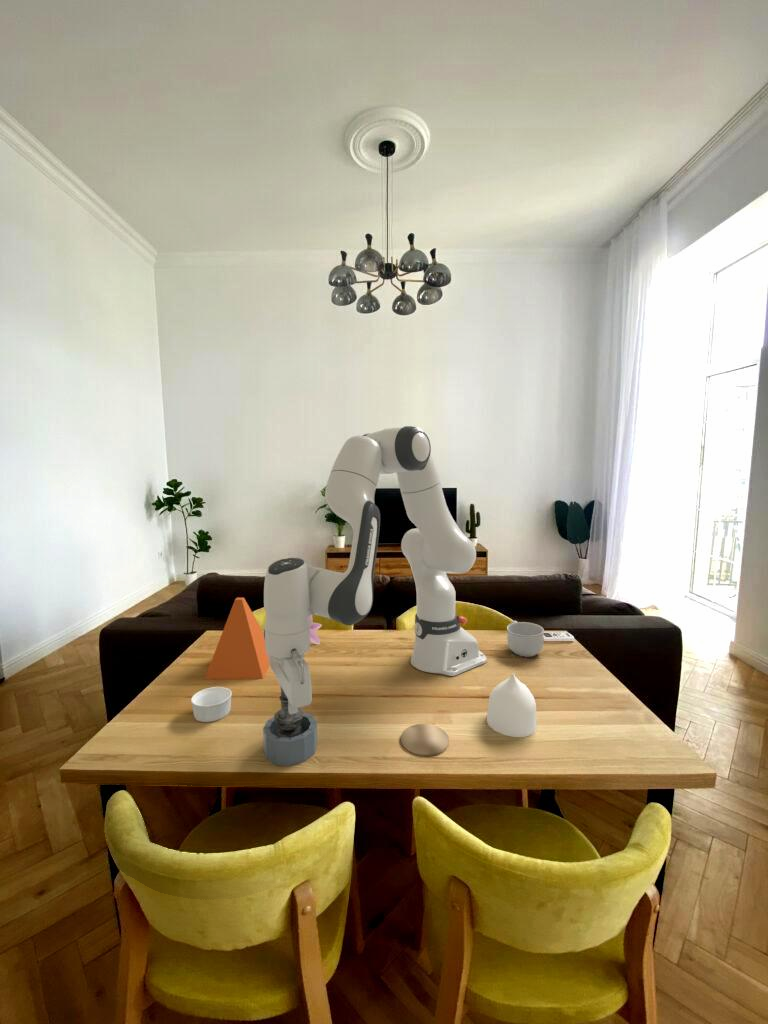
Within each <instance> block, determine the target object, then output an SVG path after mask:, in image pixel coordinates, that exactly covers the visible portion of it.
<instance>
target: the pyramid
mask: <svg viewBox="0 0 768 1024" xmlns="http://www.w3.org/2000/svg"><path fill="white" fill-rule="evenodd" d="M269 667H270V664H269V659H268V654H267V653H266V651H265V639H264V630H263V629H262V628H261V625H260V624H259V622H258V620H257V618H256V617H255V615H254V613H253V612H252V609H251V608H250V606H249V604H248V602H247V601H246V599H245V597H236V598H235V599H234V602H233V604H232V607H231V609H230V612H229V614H228V617H227V620H226V622H225V624H224V627H223V630H222V633H221V636H220V637H219V640H218V643H217V645H216V648H215V651H214V654H213V657H212V659H211V661H210V664H209V666H208V670H207V671H206V675H205V677H204V680H239V679H240V680H244V679H245V680H247V679H250V680H251V679H252V680H253V679H256V680H257V679H260V680H261V679H264V677H265V675H266V673H267V671H268V669H269Z"/></svg>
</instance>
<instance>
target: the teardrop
mask: <svg viewBox="0 0 768 1024" xmlns="http://www.w3.org/2000/svg"><path fill="white" fill-rule="evenodd" d="M487 705H488V706H487V715H486V716H487V717H486V722H487V724H488V726H489V727H490V728H491V729H492V730H493V731H495V732H498V733H499V734H501V735H504V736H508V737H513V738H525V737H528V736H532V735H533V734H534V733H535V732H536V731H537V730H538V728H537V727H538V725H537V722H538V721H537V720H538V719H537V704H536V699H535V697H534V695H533V693H532V692H531V691H530V689H529V687H527V685H526V684H524V683H523V682H521V681H520V680H519V679H518V678H517V677H516V676H515V673H514V672H512V673H511V675H510V677H508V678H507V679H504V680H503V681H502V682H500V683H498V684H497V685H496V686H495V687H494V688H493V690H492V691H491V692H490V694H489V697H488V704H487Z"/></svg>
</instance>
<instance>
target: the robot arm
mask: <svg viewBox="0 0 768 1024" xmlns="http://www.w3.org/2000/svg"><path fill="white" fill-rule="evenodd" d="M431 446H432V445H431V440H430V438H429V437H428V435H427V434H426V432H425V431H424V430H423V429H422V428H420V427H417V426H411V425H405V426H403V427H390V428H384V429H382V430H379V431H375V432H370V433H364V434H363V435H354V436H351V437H349V438H348V439H347V440H346V441H345V442H344V444H343V445H342V446H341V449H340V450H339V453H338V454H337V457H336V459H335V460H334V463H333V466H332V468H331V470H330V473H329V477H328V479H327V482H326V486H325V491H324V492H325V493H324V497H325V501H326V504H327V506H328V507H329V509H330V510H331V512H333V514H335V515H336V516H337V517H339V518H340V519H342V520H343V521H345V522H347V523H348V524H349V525H350V526H351V528H352V532H353V533H352V535H353V537H352V543H351V549H350V554H349V561H348V566H347V569H346V571H344V572H340V571H335V570H330V569H327V568H326V569H325V568H323V567H322V568H321V567H316V566H313V565H310V564H309V563H307V562H306V561H305V560H304V559H302V558H299V557H288V558H281V559H278V560H276V561H274V562H273V563H271V564H270V565H269V566H268V567H267V570H266V573H265V577H264V582H263V583H264V584H263V607H264V611H265V613H266V614H265V615H266V619H265V623H264V628H263V633H264V639H265V651H266V653H267V654H268V659H269V664H270V665H269V667H270V669H271V670H272V672H273V674H274V675H275V678H276V680H277V681H278V683H279V689H280V690H281V687H282V689H283V691H284V693H285V695H286V697H287V698H288V703H287V710H288V712H289V714H295V713H297V712H298V708H299V709H301V708H304V707H308V706H310V705H311V704H312V701H313V698H312V697H313V696H312V695H313V692H312V681H311V680H312V678H311V670H310V667H309V665H308V663H307V661H306V660H305V659H304V657H305V654H306V653H307V652H309V651H310V650H311V642H310V621H309V617H310V616H311V615H312V616H313V615H315V616H319V617H323V618H327V619H331V620H332V621H335V622H337V623H339V624H342V625H344V626H353V625H355V624H357V623H359V622H361V621H362V620H363V619H365V618H366V616H368V614H369V613H370V611H371V609H372V608H373V603H374V577H375V568H376V561H377V554H378V553H377V552H378V546H379V537H380V529H381V528H380V527H381V512H380V509H379V507H378V506H377V505H376V504H375V494H376V489H377V487H378V483H379V477H380V475H391V474H394V473H396V477H397V482H398V486H399V490H400V494H401V498H402V501H403V505H404V509H405V511H406V512H405V514H406V515H407V517H408V519H409V521H411V523H412V524H414V526H415V527H416V528H411V529H409V530H407V531H406V532H405V533H404V535H403V537H402V539H401V542H400V543H401V544H400V549H401V552H402V554H403V555H404V557H405V558H406V560H407V562H408V564H409V565H410V569H411V573H412V575H413V580H414V583H415V591H416V614H415V616H414V631H415V633H414V634H415V641H414V645H413V650H412V655H411V658H410V664H411V665H412V666H413V667H414V668H416V669H417V670H419V671H421V672H425V673H430V674H440V675H445V676H448V677H449V676H450V677H454V676H457V675H459V674H462V673H464V672H467V671H469V670H472V669H475V668H476V667H479V666H481V665H484V664H486V663H487V662H488V661H487V660H488V659H487V656H486V655H485V654H484V653H483V652H482V651H480V649H479V643H478V640H477V639H476V638H475V637H474V636H473V635H472V634H471V633H469V632H468V631H466V630H465V629H464V628H463V627H461V625H463V626H465V625H466V624H467V623H468V618H467V617H464V616H463V615H461V616H459V615H458V614H456V594H457V593H456V590H455V587H454V585H453V584H452V582H451V581H450V579H449V578H448V575H447V574H455V575H457V574H464V573H467V572H469V571H470V570H471V569H472V567H473V566H474V564H475V562H476V559H477V550H476V546H475V544H474V542H473V541H472V540H471V539H469V538H468V537H467V536H466V535H465V534H464V533H463V532H462V531H461V529H460V527H459V526H458V524H457V522H456V521H455V520H454V518H453V515H452V514H451V511H450V510H449V507H448V505H447V502H446V498H445V495H444V490H443V487H442V484H441V479H440V475H439V472H438V468H437V466H436V464H435V462H434V459H433V457H432V455H431V453H432V451H431V450H432V449H431ZM460 624H461V625H460Z"/></svg>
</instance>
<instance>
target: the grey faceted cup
mask: <svg viewBox="0 0 768 1024" xmlns="http://www.w3.org/2000/svg"><path fill="white" fill-rule="evenodd" d="M303 713H304V714H303V717H302V721H301V723H300V726H301V727H302V733H301V734H300V735H298V736H294V737H291V738H286V737H278V736H277V735H276V731H277V729H278V728H279V727H278V726H277V724H276V721H275V720H274V716H273V717H271V718H269V719H267V721H266V722H265V724H264V726H263V728H262V739H263V741H262V742H263V753H264V756H265V760H266V761H268V762H270V763H271V764H274V765H275V766H289V767H291V766H294V765H298V764H301V763H303V762H307V760H308V759H309V758H311V757H312V756H314V755H315V753H316V750H317V746H318V722H317V720H316V718H315V717H314V715H313V714H310V713H308V712H305V711H303Z"/></svg>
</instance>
